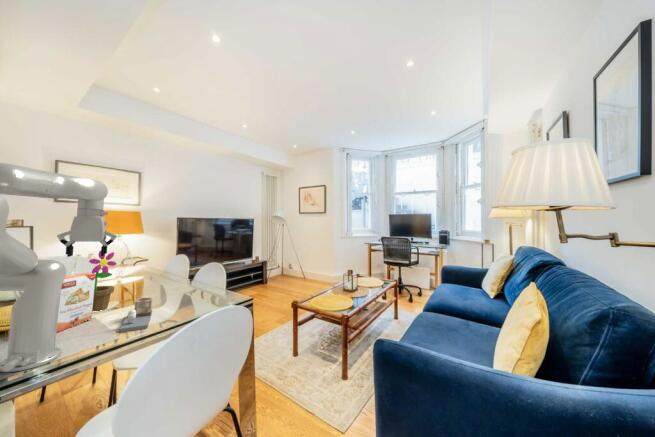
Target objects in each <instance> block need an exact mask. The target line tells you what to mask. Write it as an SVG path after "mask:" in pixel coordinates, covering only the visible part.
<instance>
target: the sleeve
mask: <svg viewBox="0 0 655 437" xmlns="http://www.w3.org/2000/svg"><path fill="white" fill-rule="evenodd" d="M152 309H153V296H146V297H138V298H137V297H136V299H135V301H134V310H135V311H136V317H143V316H150V315H151V312H152V313H153V310H152ZM151 316H152V315H151Z"/></svg>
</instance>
